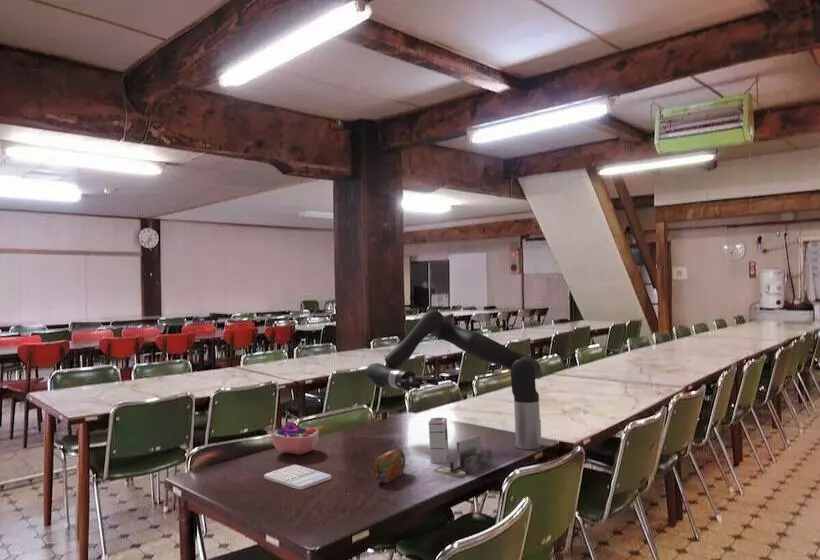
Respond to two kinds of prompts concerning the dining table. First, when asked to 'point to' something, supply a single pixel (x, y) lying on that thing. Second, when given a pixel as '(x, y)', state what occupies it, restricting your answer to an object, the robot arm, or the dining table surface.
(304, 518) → the dining table surface
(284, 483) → the calculator
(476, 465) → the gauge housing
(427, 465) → the dining table surface
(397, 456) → the tin
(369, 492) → the dining table surface
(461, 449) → the gauge paddle
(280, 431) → the cell model
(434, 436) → the syrup box
